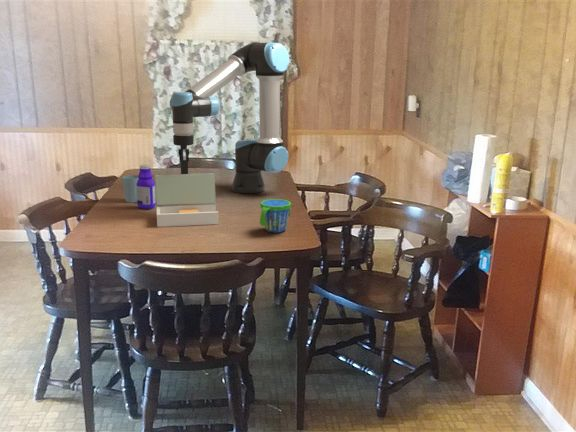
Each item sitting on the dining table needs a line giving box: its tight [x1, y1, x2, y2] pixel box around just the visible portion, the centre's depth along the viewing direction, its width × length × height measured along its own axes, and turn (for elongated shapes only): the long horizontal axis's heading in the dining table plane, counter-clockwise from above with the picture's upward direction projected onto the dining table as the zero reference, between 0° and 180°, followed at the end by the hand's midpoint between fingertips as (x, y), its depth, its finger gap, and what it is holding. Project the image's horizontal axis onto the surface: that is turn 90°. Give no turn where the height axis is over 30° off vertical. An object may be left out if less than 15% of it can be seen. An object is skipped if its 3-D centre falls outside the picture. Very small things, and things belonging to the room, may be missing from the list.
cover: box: [154, 172, 217, 207], centre depth 220 cm, size 22×12×1 cm
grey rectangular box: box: [156, 204, 220, 228], centre depth 217 cm, size 22×12×4 cm, turn 102°
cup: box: [121, 174, 139, 203], centre depth 244 cm, size 8×8×10 cm
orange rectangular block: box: [179, 210, 199, 213], centre depth 218 cm, size 7×4×4 cm, turn 98°
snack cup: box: [259, 198, 292, 234], centre depth 206 cm, size 16×10×10 cm
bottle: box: [136, 163, 157, 210], centre depth 233 cm, size 7×6×17 cm
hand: (185, 195), depth 226 cm, fingers closed
